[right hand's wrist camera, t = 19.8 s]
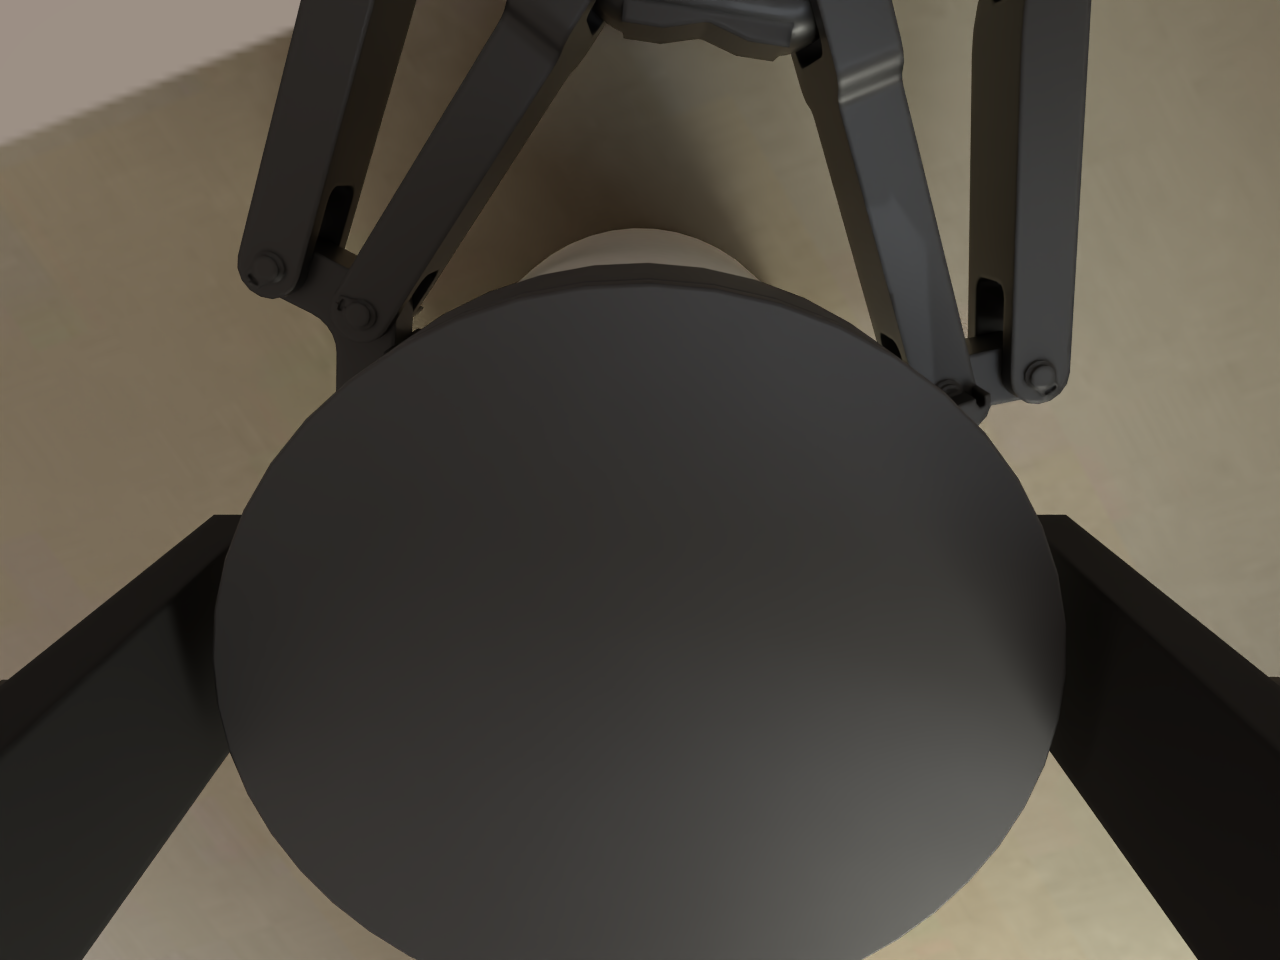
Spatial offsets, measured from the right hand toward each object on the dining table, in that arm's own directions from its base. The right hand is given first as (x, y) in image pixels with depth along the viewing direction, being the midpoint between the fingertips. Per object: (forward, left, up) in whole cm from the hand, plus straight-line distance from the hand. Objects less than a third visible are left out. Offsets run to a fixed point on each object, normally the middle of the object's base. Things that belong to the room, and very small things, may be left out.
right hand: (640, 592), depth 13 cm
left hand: (0, +4, -6) cm, 8 cm away
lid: (0, 0, +3) cm, 3 cm away
